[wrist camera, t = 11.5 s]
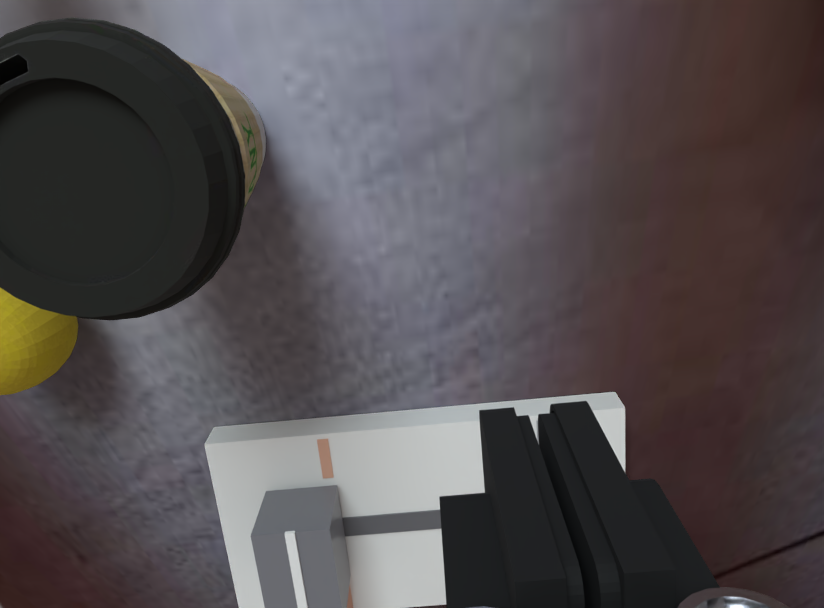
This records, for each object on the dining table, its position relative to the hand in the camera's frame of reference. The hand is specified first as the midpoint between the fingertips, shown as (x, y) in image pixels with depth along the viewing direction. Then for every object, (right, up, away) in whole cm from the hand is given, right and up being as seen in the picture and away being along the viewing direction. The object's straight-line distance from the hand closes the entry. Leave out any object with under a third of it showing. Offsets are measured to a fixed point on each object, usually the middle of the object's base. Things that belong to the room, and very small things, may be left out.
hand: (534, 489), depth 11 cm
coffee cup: (-12, +11, +25) cm, 30 cm away
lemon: (-22, +3, +28) cm, 35 cm away
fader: (-8, -10, +29) cm, 32 cm away
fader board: (-1, -9, +31) cm, 33 cm away
